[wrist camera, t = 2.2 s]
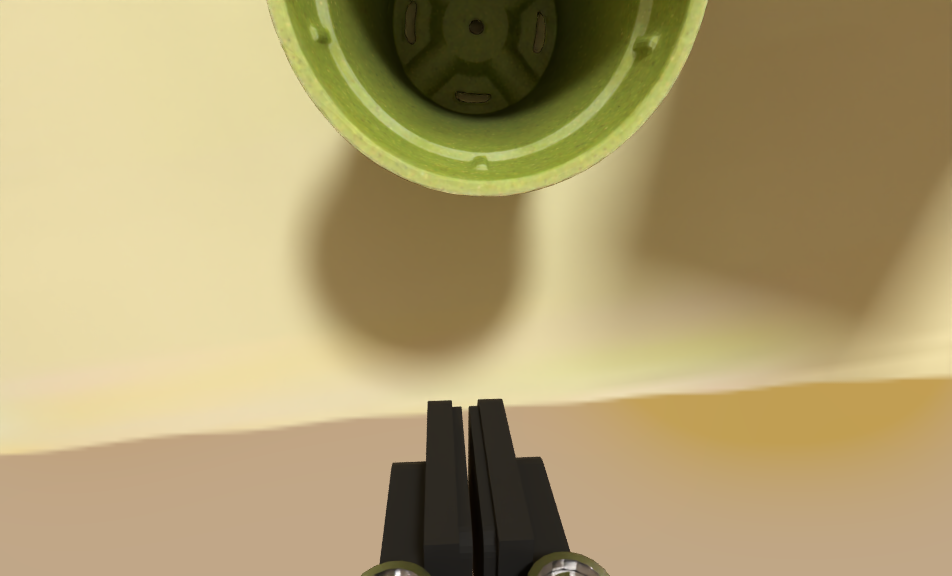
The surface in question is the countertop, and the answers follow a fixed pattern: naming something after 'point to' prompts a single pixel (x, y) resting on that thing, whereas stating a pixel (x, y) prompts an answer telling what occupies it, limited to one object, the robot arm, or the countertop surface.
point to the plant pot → (487, 82)
